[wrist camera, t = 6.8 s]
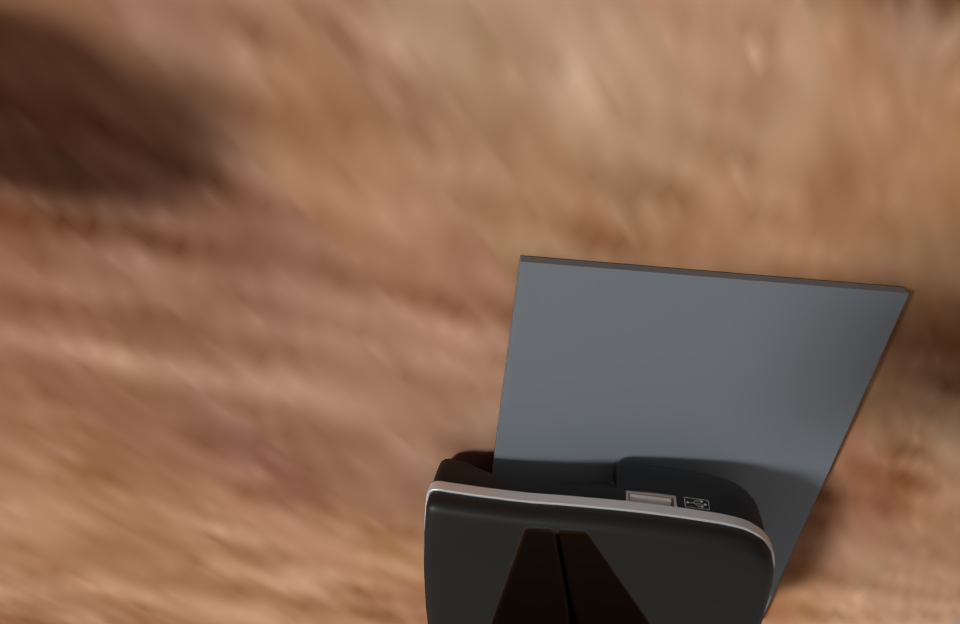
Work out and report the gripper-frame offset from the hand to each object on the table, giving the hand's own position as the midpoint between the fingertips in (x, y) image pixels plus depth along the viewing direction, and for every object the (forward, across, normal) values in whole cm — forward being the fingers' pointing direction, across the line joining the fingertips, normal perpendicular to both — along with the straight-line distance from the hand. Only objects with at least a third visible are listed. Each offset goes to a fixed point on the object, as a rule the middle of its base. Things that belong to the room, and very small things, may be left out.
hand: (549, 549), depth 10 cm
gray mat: (+13, -6, +10) cm, 18 cm away
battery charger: (+12, +2, +13) cm, 18 cm away
